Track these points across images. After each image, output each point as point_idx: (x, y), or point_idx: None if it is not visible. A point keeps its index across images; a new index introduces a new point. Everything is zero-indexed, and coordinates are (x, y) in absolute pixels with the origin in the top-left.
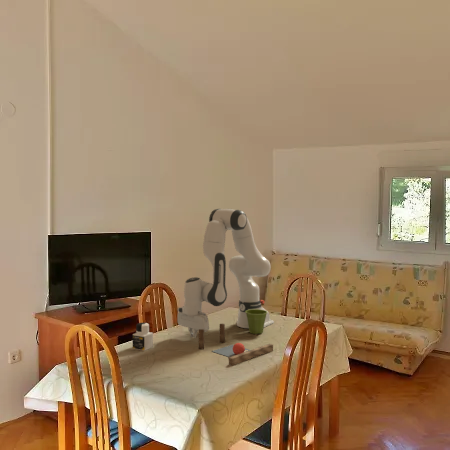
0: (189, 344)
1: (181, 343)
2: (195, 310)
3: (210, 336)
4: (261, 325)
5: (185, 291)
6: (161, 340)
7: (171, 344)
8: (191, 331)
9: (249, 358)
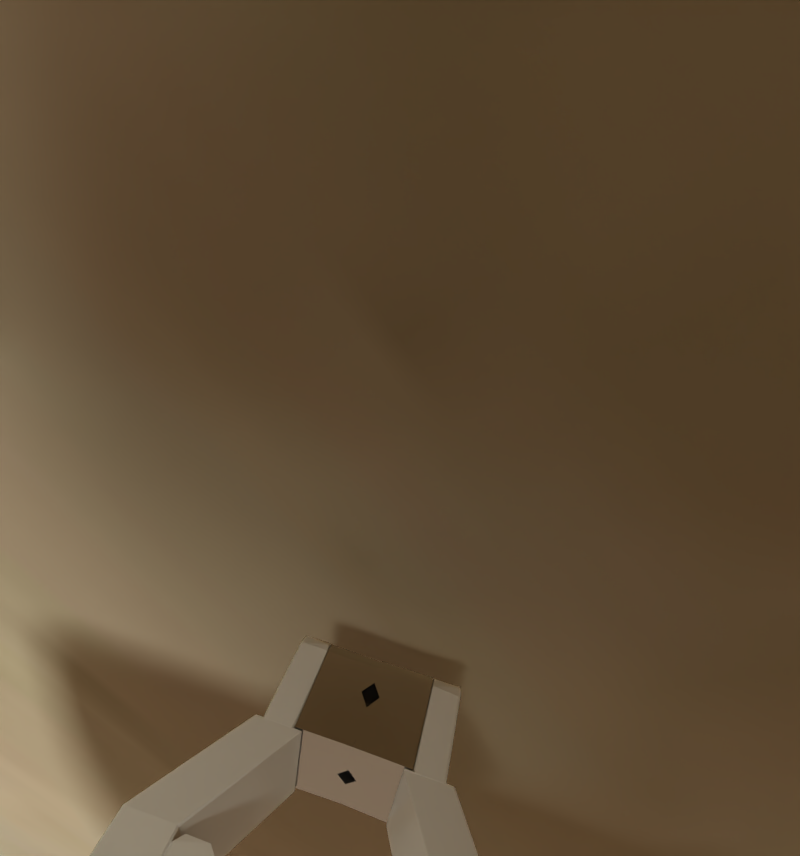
0: (510, 817)
1: None
2: None
3: (711, 9)
4: None
5: None
6: (43, 731)
7: (274, 833)
8: (249, 804)
9: None
